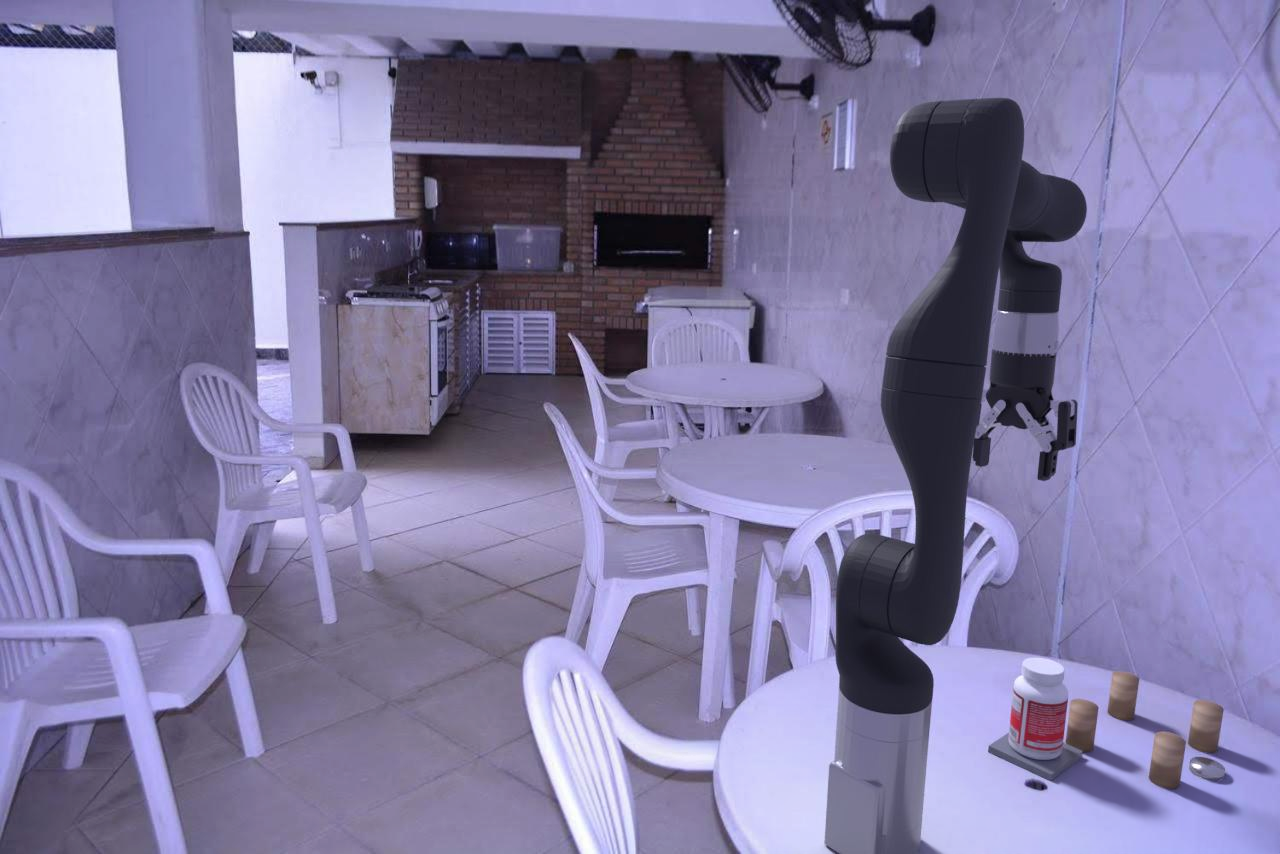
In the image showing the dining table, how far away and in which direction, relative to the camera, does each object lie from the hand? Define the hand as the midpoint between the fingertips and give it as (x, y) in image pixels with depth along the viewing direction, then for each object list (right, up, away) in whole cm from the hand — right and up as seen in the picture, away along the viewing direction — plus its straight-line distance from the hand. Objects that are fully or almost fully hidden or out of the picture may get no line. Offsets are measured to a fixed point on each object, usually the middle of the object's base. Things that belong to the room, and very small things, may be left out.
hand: (1012, 472), depth 118 cm
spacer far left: (+23, -34, -2) cm, 42 cm away
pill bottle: (+1, -34, -5) cm, 34 cm away
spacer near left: (+14, -36, -10) cm, 40 cm away
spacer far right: (+17, -33, +5) cm, 37 cm away
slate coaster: (+1, -35, -5) cm, 35 cm away
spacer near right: (+8, -34, -2) cm, 35 cm away
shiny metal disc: (+20, -36, -8) cm, 42 cm away
